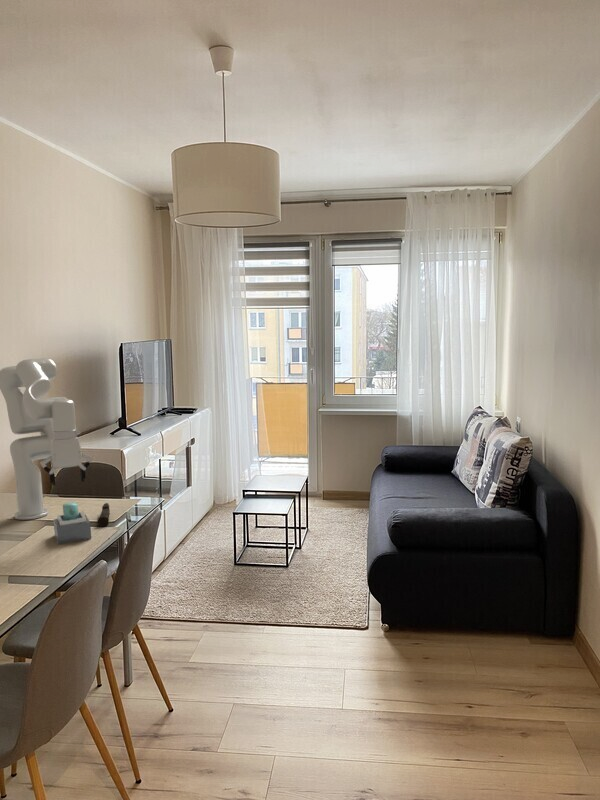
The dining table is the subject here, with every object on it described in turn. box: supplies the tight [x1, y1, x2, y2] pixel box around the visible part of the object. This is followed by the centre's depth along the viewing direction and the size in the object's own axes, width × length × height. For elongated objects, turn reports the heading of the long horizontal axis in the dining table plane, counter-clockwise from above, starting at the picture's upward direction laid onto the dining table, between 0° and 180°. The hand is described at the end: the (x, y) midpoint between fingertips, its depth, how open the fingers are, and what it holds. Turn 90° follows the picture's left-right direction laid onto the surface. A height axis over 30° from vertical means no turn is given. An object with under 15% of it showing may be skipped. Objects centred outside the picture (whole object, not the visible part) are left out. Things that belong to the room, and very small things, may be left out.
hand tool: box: [97, 502, 111, 527], centre depth 250 cm, size 19×4×5 cm, turn 10°
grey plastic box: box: [53, 511, 92, 545], centre depth 229 cm, size 11×11×8 cm
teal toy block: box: [62, 501, 79, 520], centre depth 228 cm, size 7×5×6 cm
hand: (68, 482), depth 228 cm, fingers open, 9 cm apart
